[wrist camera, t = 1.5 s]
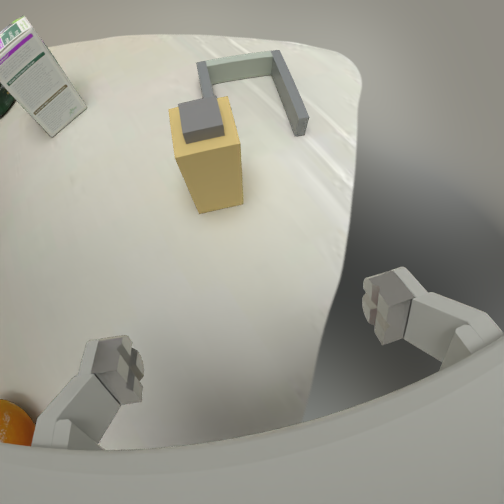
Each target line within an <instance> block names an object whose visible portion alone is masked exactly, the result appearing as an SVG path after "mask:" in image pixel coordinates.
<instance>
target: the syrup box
mask: <svg viewBox="0 0 504 504" xmlns="http://www.w3.org/2000/svg"><path fill="white" fill-rule="evenodd" d="M0 83H1V84H2V85H3V86H4V87H5V88H6V89H7V91H8V92H9V93H10V94H11V95H12V96H13V97H14V98H15V99H16V101H17V102H18V103H19V104H20V105H21V106H22V107H23V108H24V109H25V110H26V111H27V112H28V113H29V114H30V115H31V117H32V118H33V119H34V120H35V121H36V122H37V123H38V124H39V125H40V126H41V127H42V128H43V129H44V130H45V131H46V132H47V133H48V134H49V135H50V136H51V137H53V136H54V135H56V134H57V133H58V132H59V131H60V130H62V129H63V128H64V127H65V126H66V125H67V124H69V123H70V122H71V121H72V120H73V119H74V118H76V117H77V116H78V115H79V114H80V113H82V112H83V111H84V110H85V109H86V108H87V107H86V105H85V103H84V102H83V100H82V99H81V97H80V95H79V94H78V93H77V91H76V90H75V88H74V87H73V85H72V84H71V82H70V81H69V79H68V78H67V76H66V74H65V73H64V71H63V70H62V68H61V67H60V65H59V64H58V62H57V61H56V59H55V58H54V56H53V55H52V53H51V52H50V51H49V49H48V48H47V46H46V45H45V43H44V42H43V41H42V39H41V38H40V36H39V35H38V34H37V32H36V31H35V29H34V28H33V27H32V25H31V24H30V22H29V21H28V20H27V18H26V17H25V16H24V15H23V16H21V17H19V18H18V19H16V20H15V21H13V22H12V23H11V24H9V25H8V26H7V27H6V28H4V29H3V30H2V31H1V32H0Z"/></svg>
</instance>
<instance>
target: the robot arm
mask: <svg viewBox="0 0 504 504" xmlns="http://www.w3.org/2000/svg"><path fill="white" fill-rule="evenodd" d="M363 288H364V290H365V291H366V294H365V295H364V296H363V299H362V306H363V311H364V314H365V317H366V319H367V320H368V322H369V323H370V324H372V325H374V326H375V330H374V332H375V334H376V335H377V337H378V339H379V340H380V342H381V343H382V345H384V344H387V343H390V342H393V341H396V340H399V339H402V338H404V339H405V340H406V341H408V342H410V343H411V344H413V345H415V346H416V347H418V348H420V349H421V350H423V351H424V352H426V353H428V354H430V355H431V356H433V357H435V358H436V359H438V360H440V361H441V362H443V363H442V366H441V368H440V370H439V372H437V373H435V374H433V375H431V376H429V377H426V378H424V379H422V380H420V381H418V382H415V383H413V384H411V385H408V386H406V387H404V388H401V389H399V390H397V391H394V392H392V393H389V394H387V395H384V396H382V397H379V398H376V399H374V400H371V401H368V402H366V403H363V404H360V405H357V406H354V407H352V408H348V409H346V410H342V411H339V412H336V413H333V414H330V415H327V416H323V417H320V418H317V419H314V420H310V421H306V422H303V423H299V424H295V425H291V426H287V427H283V428H279V429H275V430H271V431H266V432H262V433H257V434H252V435H247V436H242V437H237V438H231V439H226V440H220V441H213V442H207V443H200V444H192V445H183V446H174V447H164V448H151V449H134V450H105V449H103V448H102V447H101V446H99V445H98V443H99V441H100V440H101V438H102V436H103V434H104V433H105V431H106V429H107V428H108V426H109V424H110V423H111V421H112V420H113V418H114V416H115V415H116V413H117V411H118V410H119V408H120V406H121V405H122V404H130V403H137V402H142V391H143V386H142V385H141V383H140V382H139V381H140V380H141V379H142V378H143V376H144V366H143V360H142V358H141V355H140V354H139V352H138V351H137V350H135V349H134V348H132V341H131V339H130V338H129V336H127V335H121V336H114V337H107V338H101V339H96V340H89V341H88V342H87V343H86V347H85V350H84V354H83V357H82V361H81V365H80V369H79V373H78V376H74V377H73V378H72V379H71V380H70V382H69V383H68V384H67V385H66V386H65V387H64V388H63V389H62V391H61V392H60V393H59V394H58V395H57V396H56V397H55V399H54V400H53V401H52V402H51V403H50V404H49V405H48V407H47V408H46V409H45V410H44V411H43V412H42V413H41V415H40V416H39V417H38V418H37V422H36V426H35V431H34V435H33V439H32V444H31V446H23V445H15V444H8V443H2V442H0V504H504V333H503V332H502V331H501V329H500V328H499V327H498V326H497V325H496V324H495V322H494V321H493V320H492V319H491V318H490V317H489V316H488V314H487V313H485V312H483V311H480V310H478V309H475V308H472V307H470V306H467V305H465V304H462V303H459V302H457V301H454V300H452V299H449V298H446V297H444V296H441V295H438V294H436V293H433V292H430V293H428V292H427V291H426V290H425V289H424V288H423V286H422V285H421V284H420V283H419V282H418V281H417V280H416V279H415V278H414V276H413V275H412V274H411V273H410V272H409V271H408V270H407V269H406V268H405V267H399V268H396V269H393V270H390V271H388V272H384V273H381V274H378V275H374V276H371V277H368V278H365V280H364V282H363Z"/></svg>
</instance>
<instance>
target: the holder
mask: <svg viewBox="0 0 504 504" xmlns="http://www.w3.org/2000/svg"><path fill="white" fill-rule="evenodd" d="M196 64H197V69H198V75H199V80H200V85H201V90H202V95H203V98H207V97H212V96H214V94H213V90H212V86H211V85H212V84H217V83H222V82H228V81H233V80H239V79H245V78H252V77H259V76H266V75H272V78H273V80H274V83H275V85H276V88H277V90H278V93H279V95H280V98H281V100H282V103H283V106H284V108H285V111H286V113H287V116H288V119H289V122H290V124H291V127H292V130H293V132H294V135H295V136H301V135H305V131H306V127H307V124H308V120H309V116H308V113H307V111H306V108H305V106H304V104H303V101H302V99H301V97H300V94H299V92H298V90H297V87H296V85H295V83H294V81H293V78H292V76H291V74H290V72H289V70H288V67H287V65H286V63H285V61H284V59H283V57H282V55H281V52H280V50H274V51H265V52H257V53H249V54H242V55H236V56H229V57H224V58H218V59H212V60H207V61H202V62H197V63H196Z"/></svg>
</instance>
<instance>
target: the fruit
mask: <svg viewBox="0 0 504 504" xmlns="http://www.w3.org/2000/svg"><path fill="white" fill-rule="evenodd" d="M34 431H35V425H34V423H33V421H32V420H31V418H30V417H29V416H28V414H27V413H26V412H25V411H24V410H23V409H21V408H20V407H19V406H17V405H16V404H14V403H12V402H10V401H7V400H3V399H0V442H2V443H8V444H15V445H23V446H31V444H32V439H33V435H34Z"/></svg>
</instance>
